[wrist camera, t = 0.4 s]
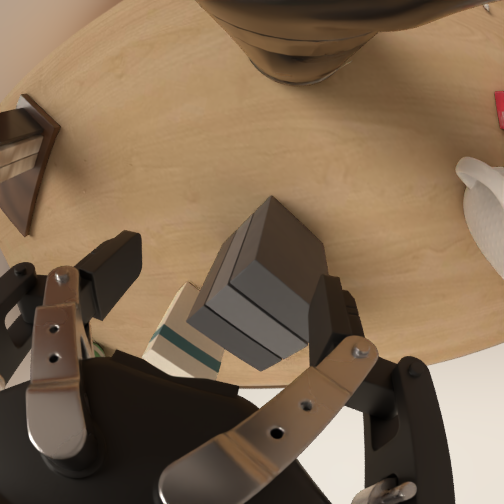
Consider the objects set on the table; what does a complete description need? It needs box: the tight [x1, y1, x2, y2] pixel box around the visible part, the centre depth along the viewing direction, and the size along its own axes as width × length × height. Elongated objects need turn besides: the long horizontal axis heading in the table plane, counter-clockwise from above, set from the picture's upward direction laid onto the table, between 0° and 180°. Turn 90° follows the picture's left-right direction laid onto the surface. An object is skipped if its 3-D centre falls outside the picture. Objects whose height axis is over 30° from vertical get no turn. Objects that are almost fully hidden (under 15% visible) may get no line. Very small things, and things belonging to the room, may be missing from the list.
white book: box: [142, 281, 225, 381], centre depth 31 cm, size 3×8×12 cm, turn 49°
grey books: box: [186, 196, 329, 371], centre depth 25 cm, size 8×8×13 cm
